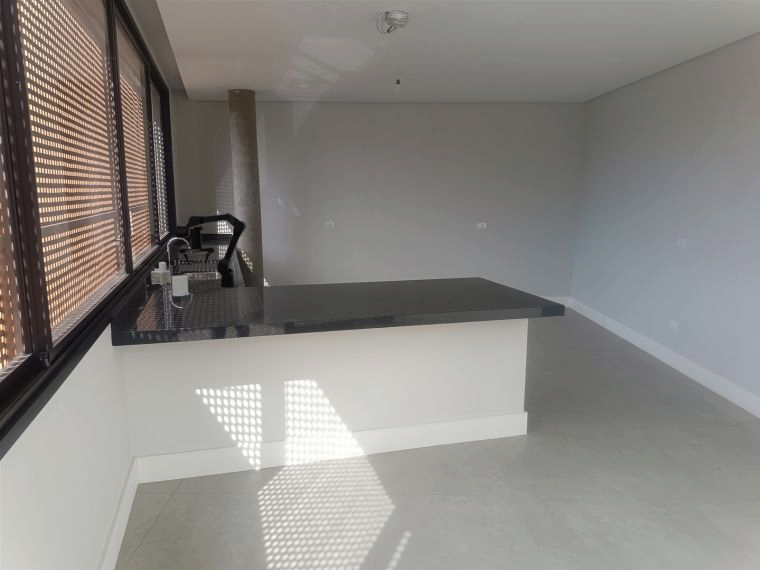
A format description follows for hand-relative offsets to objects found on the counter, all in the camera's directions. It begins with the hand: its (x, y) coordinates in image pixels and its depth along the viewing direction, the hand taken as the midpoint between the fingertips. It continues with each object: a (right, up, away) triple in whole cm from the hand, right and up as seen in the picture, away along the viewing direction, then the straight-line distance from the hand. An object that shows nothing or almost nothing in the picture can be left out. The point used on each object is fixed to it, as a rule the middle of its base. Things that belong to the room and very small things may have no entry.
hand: (197, 265), depth 301 cm
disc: (-2, -16, -20) cm, 26 cm away
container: (-25, -11, +11) cm, 29 cm away
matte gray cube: (-3, -16, -16) cm, 23 cm away
